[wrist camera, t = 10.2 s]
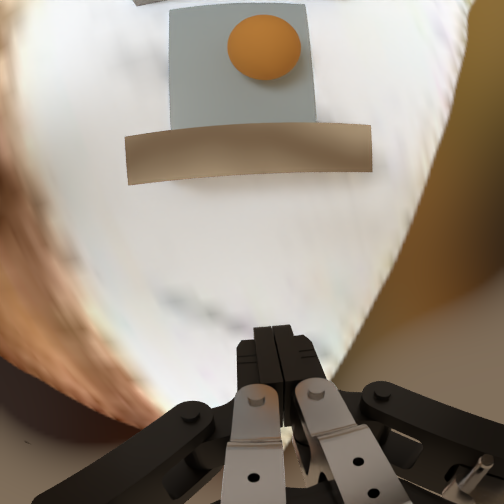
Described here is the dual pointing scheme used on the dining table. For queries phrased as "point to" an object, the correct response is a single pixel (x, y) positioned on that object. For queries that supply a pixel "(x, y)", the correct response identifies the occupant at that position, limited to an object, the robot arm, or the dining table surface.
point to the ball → (264, 47)
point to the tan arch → (248, 150)
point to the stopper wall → (145, 2)
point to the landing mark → (233, 70)
